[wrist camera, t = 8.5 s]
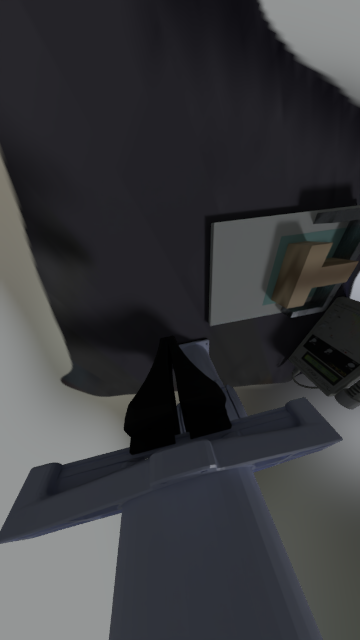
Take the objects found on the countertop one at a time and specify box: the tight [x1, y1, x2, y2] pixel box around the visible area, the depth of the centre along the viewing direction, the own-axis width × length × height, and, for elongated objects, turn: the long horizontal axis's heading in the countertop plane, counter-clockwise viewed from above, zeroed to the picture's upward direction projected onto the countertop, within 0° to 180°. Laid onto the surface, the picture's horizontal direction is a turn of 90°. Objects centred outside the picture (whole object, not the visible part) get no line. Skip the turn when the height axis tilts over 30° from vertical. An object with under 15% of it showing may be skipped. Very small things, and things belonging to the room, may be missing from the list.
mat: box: [209, 205, 360, 326], centre depth 22 cm, size 16×22×1 cm
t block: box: [271, 241, 359, 309], centre depth 21 cm, size 9×9×4 cm
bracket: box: [281, 208, 360, 318], centre depth 22 cm, size 15×7×2 cm, turn 6°
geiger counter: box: [288, 297, 360, 409], centre depth 30 cm, size 14×6×25 cm
